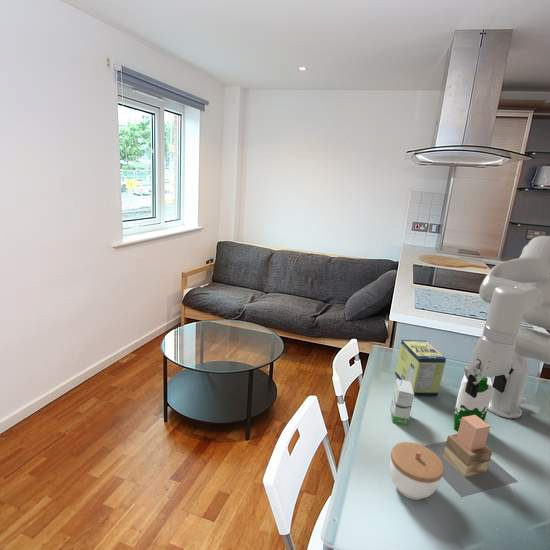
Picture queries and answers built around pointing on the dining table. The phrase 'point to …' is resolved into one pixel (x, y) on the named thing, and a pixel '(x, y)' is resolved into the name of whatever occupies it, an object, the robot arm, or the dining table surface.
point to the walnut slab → (468, 452)
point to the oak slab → (461, 466)
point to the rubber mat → (472, 483)
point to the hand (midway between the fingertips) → (484, 392)
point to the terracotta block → (473, 432)
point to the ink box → (401, 402)
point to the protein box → (420, 367)
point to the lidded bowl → (415, 470)
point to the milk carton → (472, 401)
